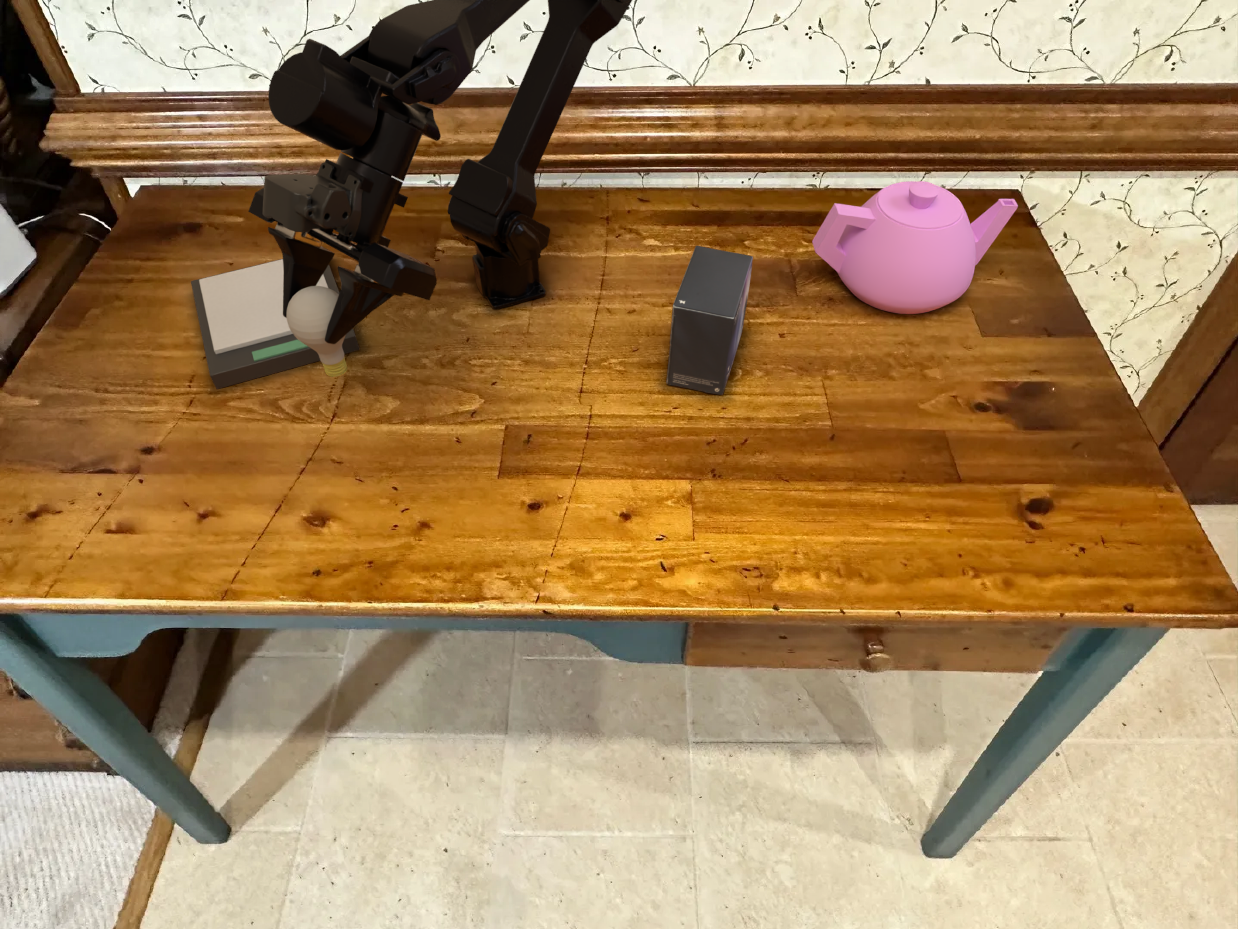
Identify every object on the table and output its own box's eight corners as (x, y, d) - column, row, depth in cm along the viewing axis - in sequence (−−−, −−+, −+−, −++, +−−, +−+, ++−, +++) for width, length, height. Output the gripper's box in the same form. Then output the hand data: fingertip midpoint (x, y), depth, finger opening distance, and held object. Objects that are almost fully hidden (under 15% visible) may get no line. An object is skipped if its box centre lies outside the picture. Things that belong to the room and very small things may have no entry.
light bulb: (371, 385, 85) (345, 304, 77) (313, 399, 83) (282, 318, 76) (361, 349, 88) (336, 268, 80) (306, 362, 87) (275, 281, 79)
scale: (327, 262, 105) (321, 244, 103) (360, 349, 95) (354, 331, 93) (196, 294, 101) (188, 276, 99) (216, 389, 91) (207, 371, 89)
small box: (726, 398, 90) (736, 319, 82) (664, 386, 91) (668, 306, 83) (744, 332, 97) (756, 253, 89) (687, 322, 98) (693, 243, 90)
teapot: (823, 329, 97) (844, 236, 88) (790, 245, 107) (806, 154, 98) (1015, 315, 99) (1055, 222, 90) (965, 234, 109) (996, 143, 100)
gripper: (229, 99, 74) (168, 272, 76) (383, 172, 66) (308, 361, 69) (327, 146, 84) (269, 297, 86) (470, 214, 76) (401, 377, 79)
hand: (308, 330), depth 80 cm, fingers closed on light bulb, 5 cm apart
